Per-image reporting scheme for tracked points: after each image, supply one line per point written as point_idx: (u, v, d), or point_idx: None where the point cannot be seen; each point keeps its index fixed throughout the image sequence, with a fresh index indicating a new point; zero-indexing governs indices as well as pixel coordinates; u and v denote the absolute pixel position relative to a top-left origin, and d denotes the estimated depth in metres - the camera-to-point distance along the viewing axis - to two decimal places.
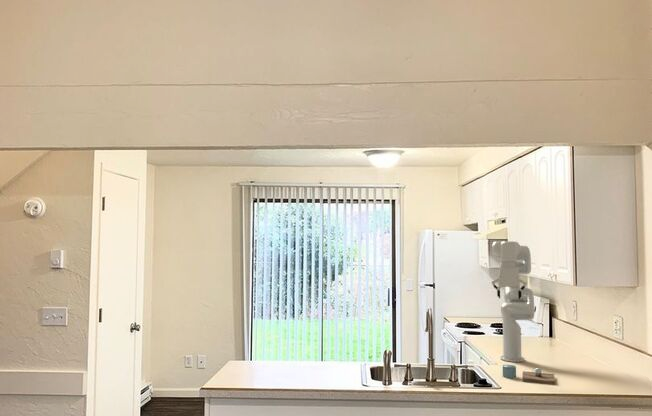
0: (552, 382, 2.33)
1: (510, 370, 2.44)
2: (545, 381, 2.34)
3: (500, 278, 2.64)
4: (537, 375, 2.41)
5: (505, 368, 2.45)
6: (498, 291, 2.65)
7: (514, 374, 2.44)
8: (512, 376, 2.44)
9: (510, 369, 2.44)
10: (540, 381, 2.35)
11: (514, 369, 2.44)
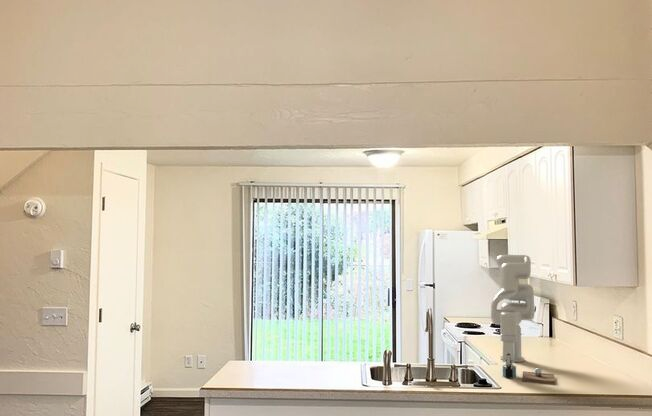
0: (552, 382, 2.33)
1: None
2: (545, 381, 2.34)
3: (513, 354, 2.43)
4: (537, 375, 2.41)
5: None
6: None
7: (514, 374, 2.44)
8: None
9: None
10: (540, 381, 2.35)
11: (514, 369, 2.44)
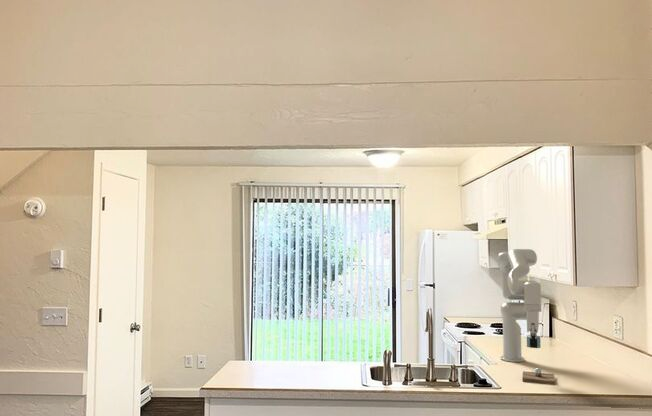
0: (552, 382, 2.33)
1: None
2: (545, 381, 2.34)
3: (537, 323, 2.40)
4: (537, 375, 2.41)
5: (529, 338, 2.42)
6: (535, 340, 2.40)
7: (538, 344, 2.41)
8: None
9: None
10: (540, 381, 2.35)
11: (538, 339, 2.41)
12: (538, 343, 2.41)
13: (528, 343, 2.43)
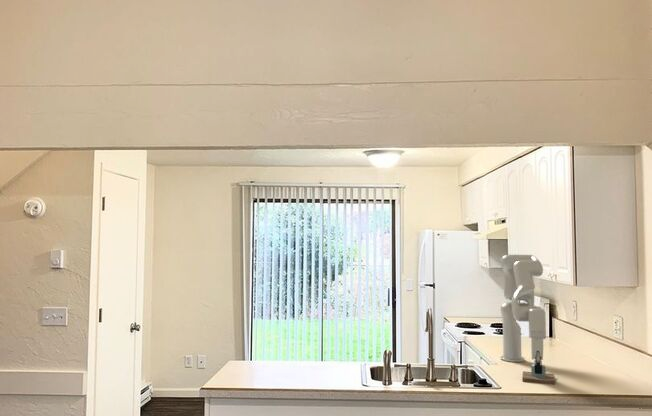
0: (552, 382, 2.33)
1: None
2: (545, 381, 2.34)
3: (542, 351, 2.38)
4: None
5: (534, 367, 2.40)
6: (540, 366, 2.37)
7: (543, 373, 2.39)
8: (541, 376, 2.39)
9: None
10: (540, 381, 2.35)
11: (543, 368, 2.40)
12: (543, 373, 2.39)
13: (533, 372, 2.41)
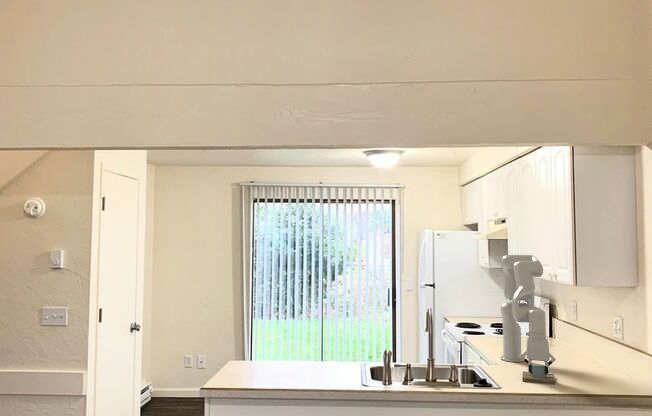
0: (552, 382, 2.33)
1: (539, 369, 2.39)
2: (545, 381, 2.34)
3: None
4: None
5: (534, 367, 2.40)
6: None
7: (543, 374, 2.39)
8: (541, 376, 2.39)
9: (539, 368, 2.39)
10: (540, 381, 2.35)
11: (543, 368, 2.40)
12: (543, 373, 2.39)
13: (533, 372, 2.41)
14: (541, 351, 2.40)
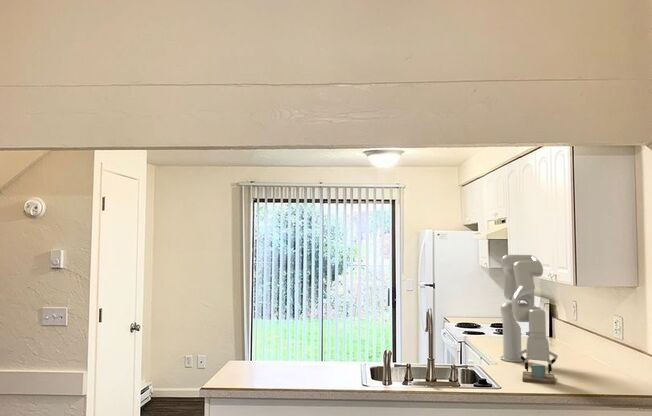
0: (552, 382, 2.33)
1: (539, 369, 2.39)
2: (545, 381, 2.34)
3: None
4: None
5: (534, 367, 2.40)
6: None
7: (543, 373, 2.39)
8: (541, 376, 2.39)
9: (539, 368, 2.39)
10: (540, 381, 2.35)
11: (543, 368, 2.40)
12: (543, 373, 2.39)
13: (533, 372, 2.41)
14: (541, 351, 2.40)
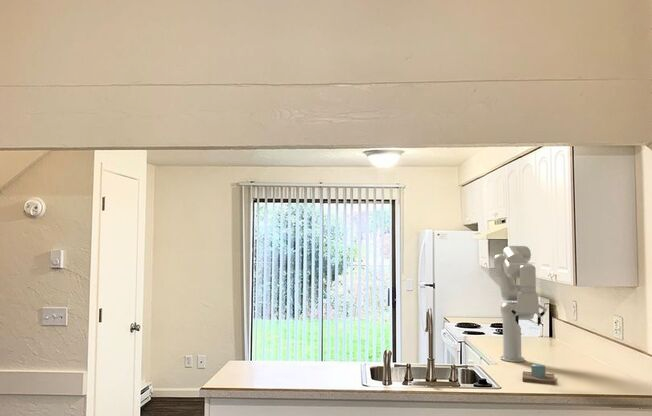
0: (552, 382, 2.33)
1: (539, 369, 2.39)
2: (545, 381, 2.34)
3: None
4: None
5: (534, 367, 2.40)
6: None
7: (543, 373, 2.39)
8: (541, 376, 2.39)
9: (539, 368, 2.39)
10: (540, 381, 2.35)
11: (543, 368, 2.40)
12: (543, 373, 2.39)
13: (533, 372, 2.41)
14: (531, 304, 2.50)
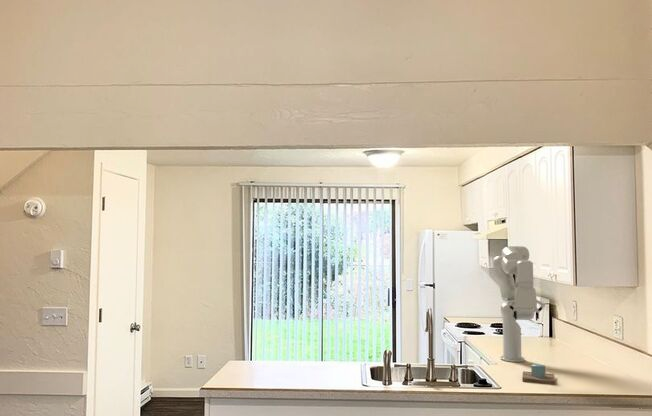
0: (552, 382, 2.33)
1: (539, 369, 2.39)
2: (545, 381, 2.34)
3: None
4: None
5: (534, 367, 2.40)
6: None
7: (543, 373, 2.39)
8: (541, 376, 2.39)
9: (539, 368, 2.39)
10: (540, 381, 2.35)
11: (543, 368, 2.40)
12: (543, 373, 2.39)
13: (533, 372, 2.41)
14: (529, 299, 2.52)
